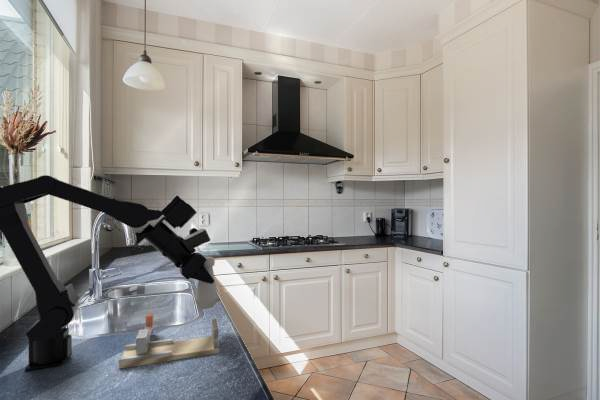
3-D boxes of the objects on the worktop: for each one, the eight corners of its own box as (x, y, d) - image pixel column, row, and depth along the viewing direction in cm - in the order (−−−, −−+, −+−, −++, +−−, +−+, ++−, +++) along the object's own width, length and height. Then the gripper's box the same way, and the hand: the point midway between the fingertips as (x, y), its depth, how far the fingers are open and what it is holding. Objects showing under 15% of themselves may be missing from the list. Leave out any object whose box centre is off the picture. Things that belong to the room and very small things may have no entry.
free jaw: (135, 358, 67) (135, 338, 67) (146, 330, 82) (146, 313, 82) (146, 357, 68) (146, 336, 68) (154, 329, 83) (154, 312, 83)
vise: (118, 368, 65) (118, 342, 65) (125, 353, 72) (125, 329, 72) (218, 352, 72) (218, 329, 72) (216, 339, 79) (216, 318, 79)
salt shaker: (211, 310, 81) (211, 259, 81) (190, 309, 82) (190, 258, 82) (221, 303, 86) (221, 255, 86) (201, 302, 88) (201, 255, 88)
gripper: (197, 220, 74) (242, 263, 79) (185, 217, 91) (223, 253, 96) (160, 256, 70) (210, 299, 75) (155, 246, 87) (196, 282, 92)
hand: (211, 280), depth 85 cm, fingers closed on salt shaker, 3 cm apart
